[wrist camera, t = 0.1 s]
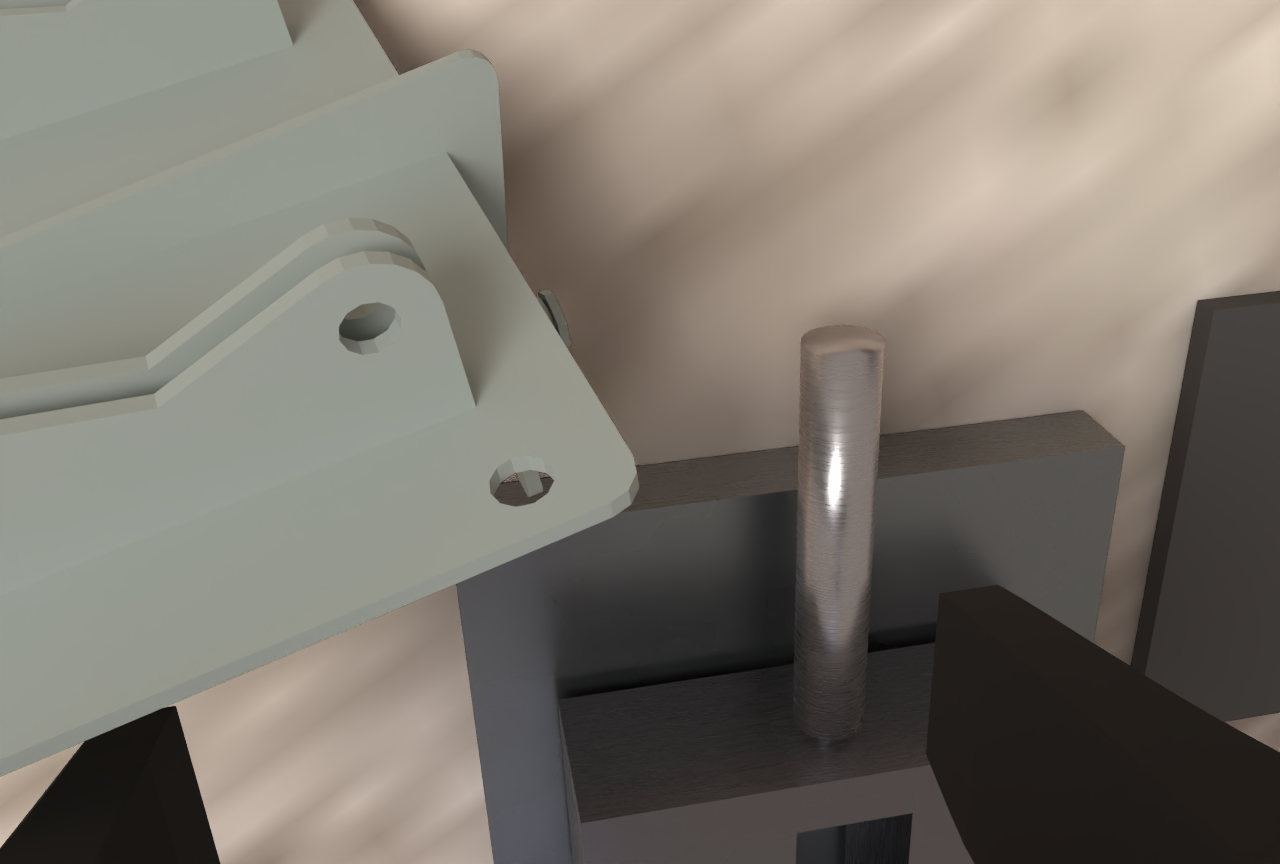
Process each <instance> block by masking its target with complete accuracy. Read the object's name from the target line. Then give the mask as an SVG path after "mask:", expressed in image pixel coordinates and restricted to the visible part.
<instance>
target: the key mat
mask: <svg viewBox="0 0 1280 864" xmlns="http://www.w3.org/2000/svg"><path fill="white" fill-rule="evenodd" d="M1131 667H1132V668H1134V669H1136V670H1137V671H1139V672H1140V673H1142V674H1144V675H1145V676H1147V677H1149V678H1150V679H1152V680H1153V681H1155V682H1157V683H1158V684H1160V685H1162V686H1163V687H1165V688H1167V689H1168V690H1170V691H1172V692H1173V693H1175V694H1177V695H1178V696H1180V697H1182V698H1183V699H1185V700H1187V701H1188V702H1190V703H1192V704H1193V705H1195V706H1197V707H1199V708H1200V709H1202V710H1204V711H1206V712H1207V713H1209V714H1211V715H1212V716H1214V717H1216V718H1218V719H1219V720H1221V721H1223V722H1225V721H1231V720H1237V719H1243V718H1249V717H1255V716H1261V715H1267V714H1273V713H1279V712H1280V291H1278V292H1269V293H1260V294H1251V295H1243V296H1234V297H1225V298H1216V299H1207V300H1199V301H1198V303H1197V309H1196V314H1195V320H1194V325H1193V330H1192V336H1191V341H1190V347H1189V352H1188V358H1187V363H1186V369H1185V374H1184V380H1183V385H1182V391H1181V396H1180V402H1179V407H1178V413H1177V418H1176V424H1175V429H1174V435H1173V440H1172V446H1171V451H1170V456H1169V462H1168V467H1167V473H1166V478H1165V484H1164V489H1163V495H1162V500H1161V506H1160V511H1159V517H1158V522H1157V528H1156V533H1155V539H1154V544H1153V550H1152V555H1151V561H1150V566H1149V571H1148V577H1147V582H1146V588H1145V593H1144V599H1143V604H1142V610H1141V615H1140V621H1139V626H1138V632H1137V637H1136V643H1135V648H1134V654H1133V659H1132V665H1131Z"/></svg>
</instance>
